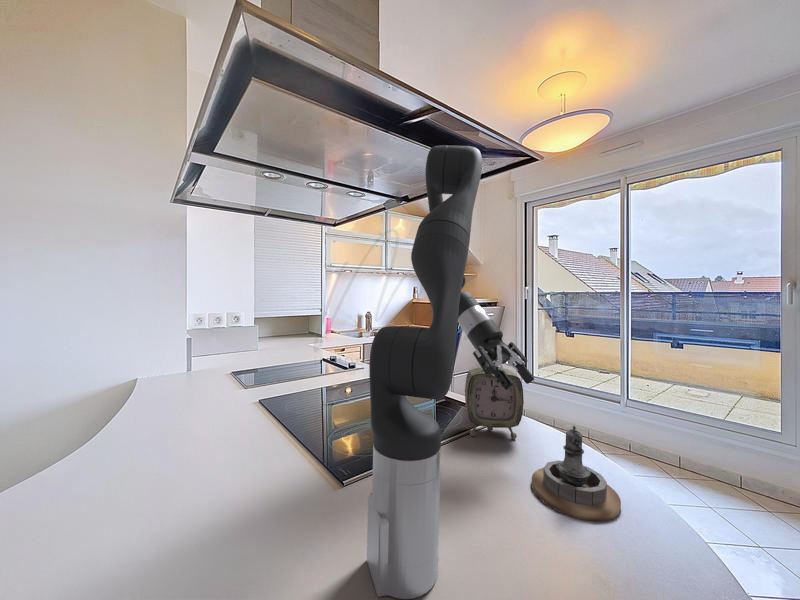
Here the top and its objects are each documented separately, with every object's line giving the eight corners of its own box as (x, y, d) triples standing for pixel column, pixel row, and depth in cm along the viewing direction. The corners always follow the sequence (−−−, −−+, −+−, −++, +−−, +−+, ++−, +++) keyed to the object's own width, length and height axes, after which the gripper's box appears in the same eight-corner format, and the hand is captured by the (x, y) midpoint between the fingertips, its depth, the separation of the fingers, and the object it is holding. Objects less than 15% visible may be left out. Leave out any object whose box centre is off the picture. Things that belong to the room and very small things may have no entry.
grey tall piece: (557, 492, 60) (558, 428, 60) (554, 475, 66) (556, 417, 65) (592, 499, 58) (594, 434, 58) (587, 482, 63) (588, 422, 63)
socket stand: (576, 529, 52) (577, 506, 52) (515, 479, 66) (515, 461, 66) (640, 510, 57) (641, 490, 57) (570, 467, 71) (571, 451, 71)
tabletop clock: (466, 438, 85) (468, 344, 85) (463, 425, 94) (465, 340, 94) (522, 442, 83) (525, 347, 83) (514, 428, 92) (516, 342, 92)
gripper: (470, 319, 73) (514, 380, 64) (505, 317, 82) (548, 370, 73) (451, 339, 77) (491, 399, 68) (487, 335, 86) (526, 388, 77)
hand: (520, 384), depth 70 cm, fingers open, 8 cm apart
